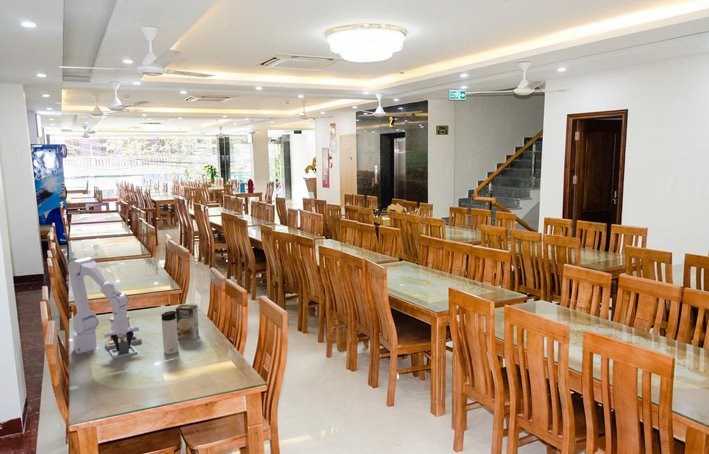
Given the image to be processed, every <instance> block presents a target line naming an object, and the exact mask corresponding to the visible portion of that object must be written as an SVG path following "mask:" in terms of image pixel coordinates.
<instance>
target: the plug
mask: <svg viewBox="0 0 709 454" xmlns="http://www.w3.org/2000/svg"><path fill="white" fill-rule="evenodd" d="M124 338H125V336H120V337H119V339H120V340H118V346H119V351H118V354H119V355H122V354H127V353H129V345H128V340H127V339H124Z"/></svg>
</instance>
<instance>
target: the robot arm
mask: <svg viewBox="0 0 709 454" xmlns="http://www.w3.org/2000/svg"><path fill="white" fill-rule="evenodd" d="M97 264H98V263H97V262H96V261H95V259H94V258H93V257H92V256H91V257H90V256H87V257H83V258H80V259H79V258H78V259H75V260H74V259H73V260H71V261H70V262H69V263H68V264H67V269H68V273H69V274H68V275H69V281H70V284H71V290H72V295H73V299H74V304H75V308H76V313H75V315H74V317H73V319H72V320H73V325H72V327H73V330H74V332H75V333H73V335H72V337H73V339H72V340H73V350H74V351H75V354H82V353H86V352H90V351H95V350H99V349H100V348H99V346H98V345H97V344H98V343H97V334H96V330H97V327H98V326H99V323H100V322H99V319H98V317H97V315H96V312H95V311H94V310H91V308H90V304H89V298H88V293H87V289H86V284H85V279H84V278H85V277H86V276H89V277H90V278H91V279H92V280H93V281H94V282H95V283H96V284H97V285H98V286H99V287H100V292H101V293H102V294H103V295H104V296H105V298H106V299H107V300H108V301H109V302H108V306H109V307H110V308H111V312H112V316H113V317H114V329H115V330H112V331H111V330H109V331H106V332H104V333H103V337H104V338H105V339H106V338H109V337H110V339H112V340H111V341H114V343H115V346H116V350H117V351H119V346H118V339H119V337H117V335H119V334H124V333H126V336H125V338H127V340H128V345H129V348H130V343H131V340H132V337H133V336H135V335H134V334H135V333H134V332H139V331H140V327H139V326H138V325H135V326H130V327H128V319H127V315H128V310H127V307H128V306H127V305H128V304H129V302H130V298H129V296H128V295H127V293H124V292H122V291H120V290H119V289H118V287H116V286H115V284H114V283H112V282H111V281H110V282H109V281H107V280H106V278H105V277H104V275H103V274H102V273H101V271H100V270H99V269H98V267H97Z"/></svg>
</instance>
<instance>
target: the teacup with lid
mask: <svg viewBox="0 0 709 454" xmlns="http://www.w3.org/2000/svg"><path fill="white" fill-rule="evenodd" d="M127 319H128V327H131V326H130V316H129V315H128V314H127ZM109 321H110V331H112V330H115V329H114V317H113V315H112V316H111V317H110V318H109ZM120 336H124V337H126V333H124V334H119V335H117V337H118V338H120Z"/></svg>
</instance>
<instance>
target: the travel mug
mask: <svg viewBox="0 0 709 454" xmlns="http://www.w3.org/2000/svg"><path fill="white" fill-rule="evenodd" d="M161 329H162V332H161V333H162V342H163V354H164V355H167V356H171V355H175V354H179V343H178V341H179V339H178V338H177V322H176V310H170V311H166V312H163V313H161Z"/></svg>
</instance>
